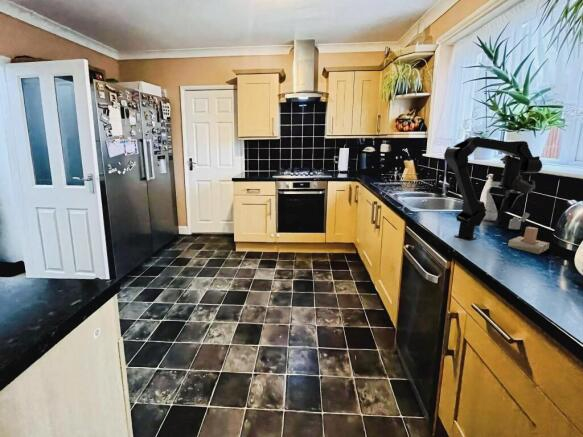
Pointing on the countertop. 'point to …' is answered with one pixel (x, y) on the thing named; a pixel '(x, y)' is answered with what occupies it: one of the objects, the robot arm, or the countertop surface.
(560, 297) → the countertop surface
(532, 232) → the peg
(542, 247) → the socket block
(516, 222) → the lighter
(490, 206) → the plastic bottle
